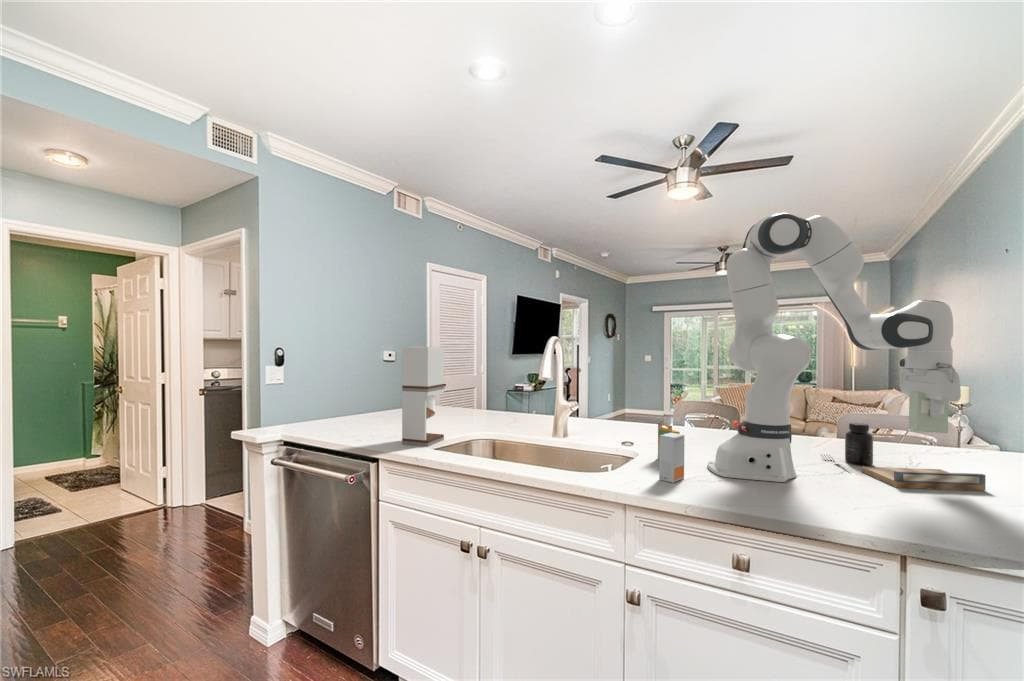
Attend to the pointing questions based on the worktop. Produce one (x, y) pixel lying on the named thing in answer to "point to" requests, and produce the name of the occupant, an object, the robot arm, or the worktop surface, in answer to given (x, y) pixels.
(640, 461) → the worktop surface
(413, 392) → the coffee grinder
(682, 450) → the skincare box
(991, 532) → the worktop surface
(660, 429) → the crayon box
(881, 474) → the shelf board
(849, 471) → the fork
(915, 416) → the carton
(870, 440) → the supplement bottle
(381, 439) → the worktop surface
